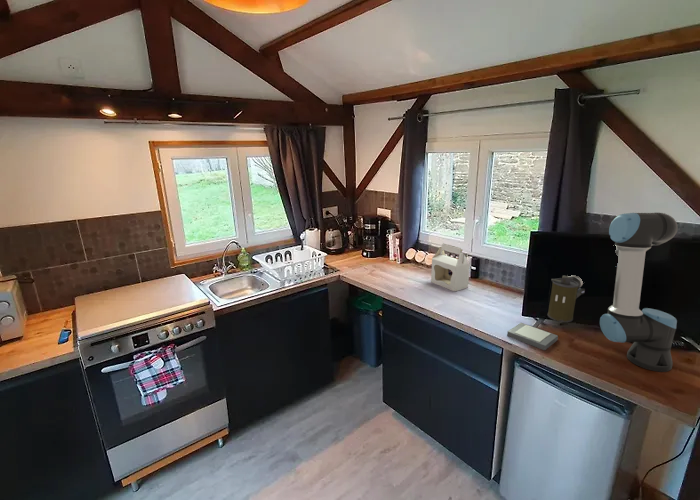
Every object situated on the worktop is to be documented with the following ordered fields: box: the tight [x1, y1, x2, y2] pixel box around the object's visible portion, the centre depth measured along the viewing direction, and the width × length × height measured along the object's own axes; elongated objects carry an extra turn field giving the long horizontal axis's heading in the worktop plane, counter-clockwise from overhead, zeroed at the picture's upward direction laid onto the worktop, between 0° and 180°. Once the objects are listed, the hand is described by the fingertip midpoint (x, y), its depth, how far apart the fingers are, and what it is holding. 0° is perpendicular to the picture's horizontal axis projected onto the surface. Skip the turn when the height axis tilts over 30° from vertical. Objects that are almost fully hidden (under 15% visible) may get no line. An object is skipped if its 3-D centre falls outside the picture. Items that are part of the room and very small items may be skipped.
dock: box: [506, 322, 559, 351], centre depth 175 cm, size 18×14×3 cm
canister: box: [546, 274, 579, 323], centre depth 164 cm, size 11×10×20 cm
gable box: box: [430, 242, 471, 292], centre depth 242 cm, size 22×13×28 cm, turn 32°
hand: (560, 299), depth 159 cm, fingers closed on canister, 2 cm apart
